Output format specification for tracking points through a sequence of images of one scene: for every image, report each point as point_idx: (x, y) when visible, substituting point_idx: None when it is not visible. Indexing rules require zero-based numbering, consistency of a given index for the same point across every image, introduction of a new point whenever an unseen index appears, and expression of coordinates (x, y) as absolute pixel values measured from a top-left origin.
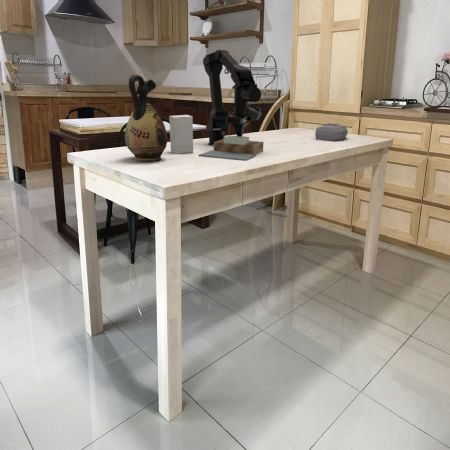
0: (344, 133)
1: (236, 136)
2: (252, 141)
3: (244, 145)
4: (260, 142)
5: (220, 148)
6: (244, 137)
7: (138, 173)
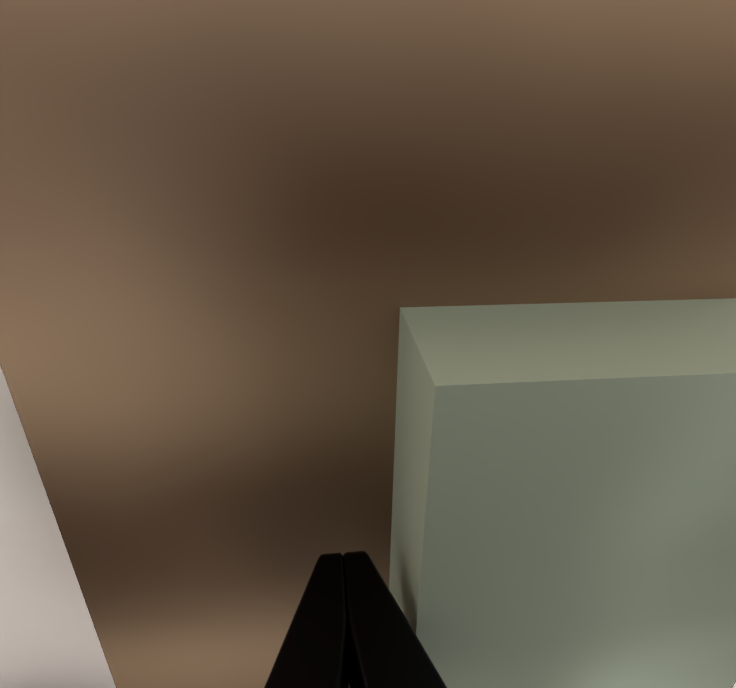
0: None
1: (518, 654)
2: (84, 321)
3: (725, 286)
4: (94, 9)
5: None
6: (650, 450)
7: None
